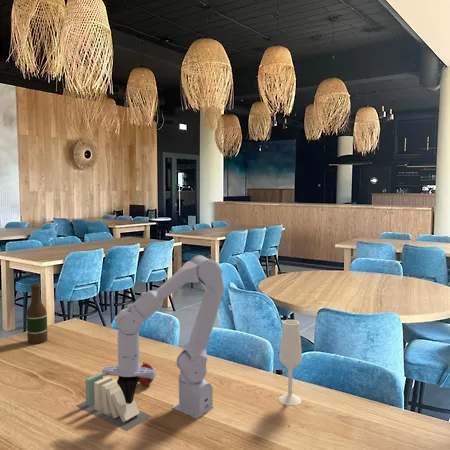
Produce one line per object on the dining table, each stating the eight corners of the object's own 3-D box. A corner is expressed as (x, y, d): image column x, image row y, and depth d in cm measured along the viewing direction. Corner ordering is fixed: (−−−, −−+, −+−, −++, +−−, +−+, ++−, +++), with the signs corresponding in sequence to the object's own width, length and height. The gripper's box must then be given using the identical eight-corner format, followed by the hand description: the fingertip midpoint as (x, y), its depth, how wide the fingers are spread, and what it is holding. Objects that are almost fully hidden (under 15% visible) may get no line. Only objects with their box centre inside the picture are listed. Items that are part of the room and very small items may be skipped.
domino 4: (130, 410, 121) (122, 381, 123) (116, 417, 117) (108, 388, 118) (127, 410, 122) (119, 382, 123) (113, 418, 118) (105, 389, 119)
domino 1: (103, 400, 128) (103, 374, 128) (89, 406, 124) (88, 380, 124) (100, 398, 129) (99, 372, 129) (86, 405, 125) (85, 378, 125)
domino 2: (112, 403, 126) (111, 377, 125) (98, 411, 122) (97, 383, 121) (108, 402, 127) (108, 376, 126) (94, 409, 123) (94, 382, 122)
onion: (146, 380, 143) (146, 356, 142) (158, 385, 139) (158, 361, 138) (132, 386, 138) (132, 362, 137) (144, 391, 134) (144, 367, 134)
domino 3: (121, 407, 124) (119, 380, 123) (107, 414, 120) (105, 386, 119) (117, 406, 125) (115, 379, 124) (103, 413, 121) (101, 385, 120)
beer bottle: (51, 340, 180) (49, 283, 178) (34, 345, 173) (32, 287, 171) (40, 336, 184) (38, 281, 182) (23, 342, 177) (21, 285, 175)
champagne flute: (274, 397, 131) (275, 320, 129) (293, 392, 134) (294, 317, 132) (286, 407, 125) (287, 326, 123) (305, 402, 128) (307, 324, 126)
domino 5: (139, 412, 119) (127, 386, 121) (126, 420, 115) (113, 392, 117) (136, 414, 120) (124, 388, 122) (122, 422, 116) (110, 395, 118)
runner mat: (151, 417, 119) (151, 416, 119) (126, 432, 112) (126, 430, 112) (101, 395, 132) (101, 393, 132) (75, 407, 125) (75, 405, 125)
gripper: (158, 349, 119) (159, 396, 120) (109, 346, 121) (110, 393, 122) (151, 359, 112) (151, 409, 114) (98, 356, 114) (99, 405, 115)
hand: (129, 401), depth 117 cm, fingers closed
